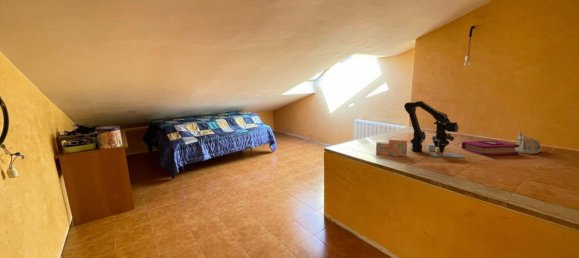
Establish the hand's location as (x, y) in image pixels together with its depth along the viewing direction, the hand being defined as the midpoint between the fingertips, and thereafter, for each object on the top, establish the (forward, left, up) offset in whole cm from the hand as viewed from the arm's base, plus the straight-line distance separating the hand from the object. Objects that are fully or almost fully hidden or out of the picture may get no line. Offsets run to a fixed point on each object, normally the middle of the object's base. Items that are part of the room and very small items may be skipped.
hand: (439, 151), depth 179 cm
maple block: (0, 0, -2) cm, 2 cm away
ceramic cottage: (+67, +23, -3) cm, 71 cm away
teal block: (-1, +16, -3) cm, 16 cm away
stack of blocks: (-34, -4, -3) cm, 34 cm away
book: (+39, +19, -4) cm, 44 cm away
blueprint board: (+4, 0, -3) cm, 5 cm away
